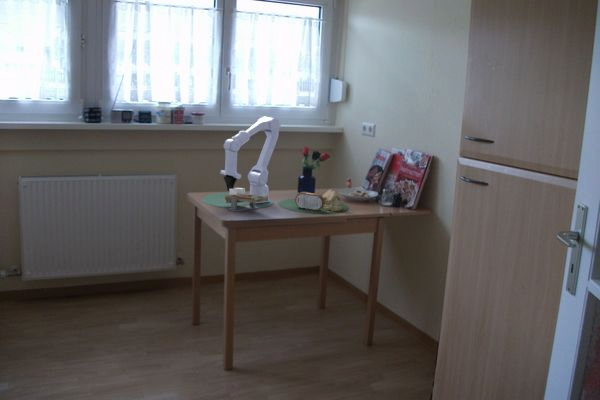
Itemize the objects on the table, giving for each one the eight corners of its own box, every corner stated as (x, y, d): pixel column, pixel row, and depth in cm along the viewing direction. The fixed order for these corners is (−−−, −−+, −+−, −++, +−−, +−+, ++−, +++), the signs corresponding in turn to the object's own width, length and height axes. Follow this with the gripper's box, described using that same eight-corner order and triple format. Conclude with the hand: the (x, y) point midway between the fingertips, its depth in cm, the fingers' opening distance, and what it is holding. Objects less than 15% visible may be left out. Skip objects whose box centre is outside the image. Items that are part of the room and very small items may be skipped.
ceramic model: (315, 205, 314) (317, 186, 312) (334, 204, 319) (336, 186, 317) (327, 211, 302) (328, 191, 300) (347, 211, 306) (348, 191, 304)
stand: (251, 206, 301) (251, 195, 299) (257, 208, 297) (258, 197, 296) (228, 209, 291) (228, 198, 290) (234, 211, 288) (235, 200, 286)
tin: (324, 210, 303) (325, 194, 301) (322, 211, 300) (323, 195, 298) (296, 206, 307) (297, 190, 306) (293, 208, 304) (295, 191, 303)
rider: (237, 196, 301) (237, 187, 300) (245, 196, 296) (244, 188, 296) (229, 197, 297) (229, 188, 297) (236, 197, 293) (236, 189, 292)
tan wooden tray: (240, 201, 303) (240, 192, 303) (268, 204, 287) (268, 194, 287) (224, 203, 297) (224, 194, 296) (252, 206, 280) (252, 196, 280)
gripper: (215, 161, 301) (214, 188, 303) (233, 166, 290) (232, 194, 293) (227, 161, 305) (226, 187, 308) (244, 165, 295) (243, 192, 298)
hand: (229, 190), depth 301 cm, fingers closed
